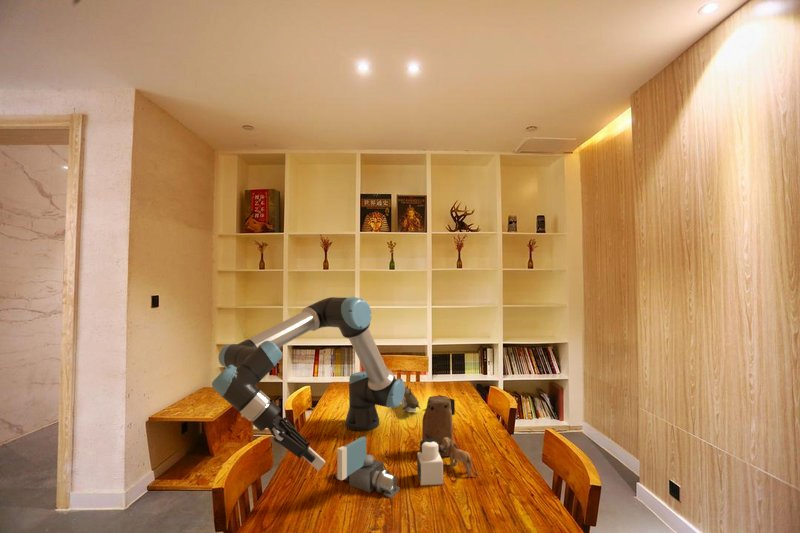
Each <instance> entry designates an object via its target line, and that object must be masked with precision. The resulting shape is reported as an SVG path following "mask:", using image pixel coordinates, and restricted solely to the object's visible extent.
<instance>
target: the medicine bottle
mask: <svg viewBox="0 0 800 533" xmlns="http://www.w3.org/2000/svg"><path fill="white" fill-rule="evenodd" d="M419 448H420V449H419V452H417V453H416V454H417V455H416V456H417V457H416V458H417V460H416V461H417V466H416V467H417V471H416V472H417V477H418V481H419V485H420V486H423V487H424V486H438V485H439V486H440V485H443V484H444V461H443V459H442V457H441V456H440V454H439V442H438V441H437V440H435V439H431V438H427V439H424V440H423V439H422V440H421V441H420V442H419Z"/></svg>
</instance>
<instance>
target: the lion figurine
mask: <svg viewBox="0 0 800 533" xmlns="http://www.w3.org/2000/svg"><path fill="white" fill-rule="evenodd" d="M440 448H441V450H442V451H443V450H444V452H445V453H447V456H446V457H449V460H450V465H449V469H453V468H454V466H457V465H458V462H462V463H461V464H462V465H463V467H464V469H465V471H466V472H467V474H466V478H471V476H472V475H471V472H472V473H473V475H474V476H475V477H479V474H478V473H477V472H476V471H475V470H474V468H473V463H472V456H471V454H470V453H469V452H468V451H465V450H462V449H460V448H459V446H458V444H457V443H456V442H455V441H454V439H453V440H452V439H450V438H448V437H445V438H443V442H442V444H441V445H440Z"/></svg>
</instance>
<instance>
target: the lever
mask: <svg viewBox="0 0 800 533" xmlns="http://www.w3.org/2000/svg"><path fill="white" fill-rule="evenodd" d="M336 450H337V452H336V453H337V458H336V459H337V463H336V464H337V465H336V466H337V472H336V474H337V478H336V479H337V480H339V481H343V480H344V479H345V478H347V476H349V475H350V474H352V473H353V472H355V471H356V470H358V469H359V468H361V467H363V466H370V465H372V464H373V459H374V455H373V454H367V437H366V436H361V437H359V438H356V439H355V440H354V441H352V442H350V443H348V444H346V445H344V446H340V447H338V448H337V449H336ZM344 481H345V480H344Z"/></svg>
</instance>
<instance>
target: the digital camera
mask: <svg viewBox="0 0 800 533" xmlns="http://www.w3.org/2000/svg"><path fill="white" fill-rule="evenodd" d="M437 396H440V397H441V396H442V395H441V394H439V395H437ZM448 398H449V399H450V402H451V411H452V416H454V415H455V414H456V412H455V411H456V410H455V409H456V407H455V406H456V405H455V399H452V398H451V397H448Z"/></svg>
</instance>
